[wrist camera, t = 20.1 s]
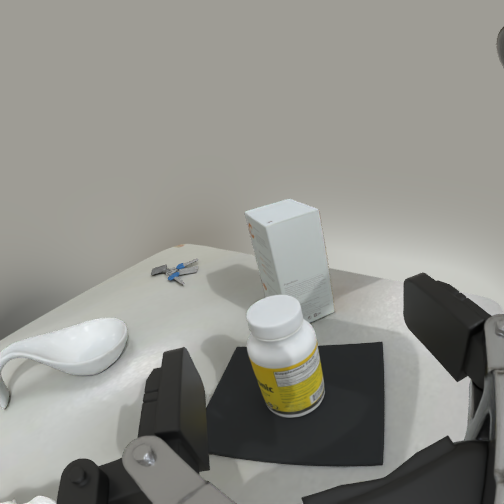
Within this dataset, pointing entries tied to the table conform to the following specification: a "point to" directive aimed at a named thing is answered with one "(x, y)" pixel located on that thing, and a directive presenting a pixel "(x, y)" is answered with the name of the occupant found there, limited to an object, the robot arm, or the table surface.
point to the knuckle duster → (35, 501)
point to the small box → (292, 255)
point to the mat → (307, 426)
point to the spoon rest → (71, 349)
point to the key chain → (174, 275)
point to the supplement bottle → (285, 356)
